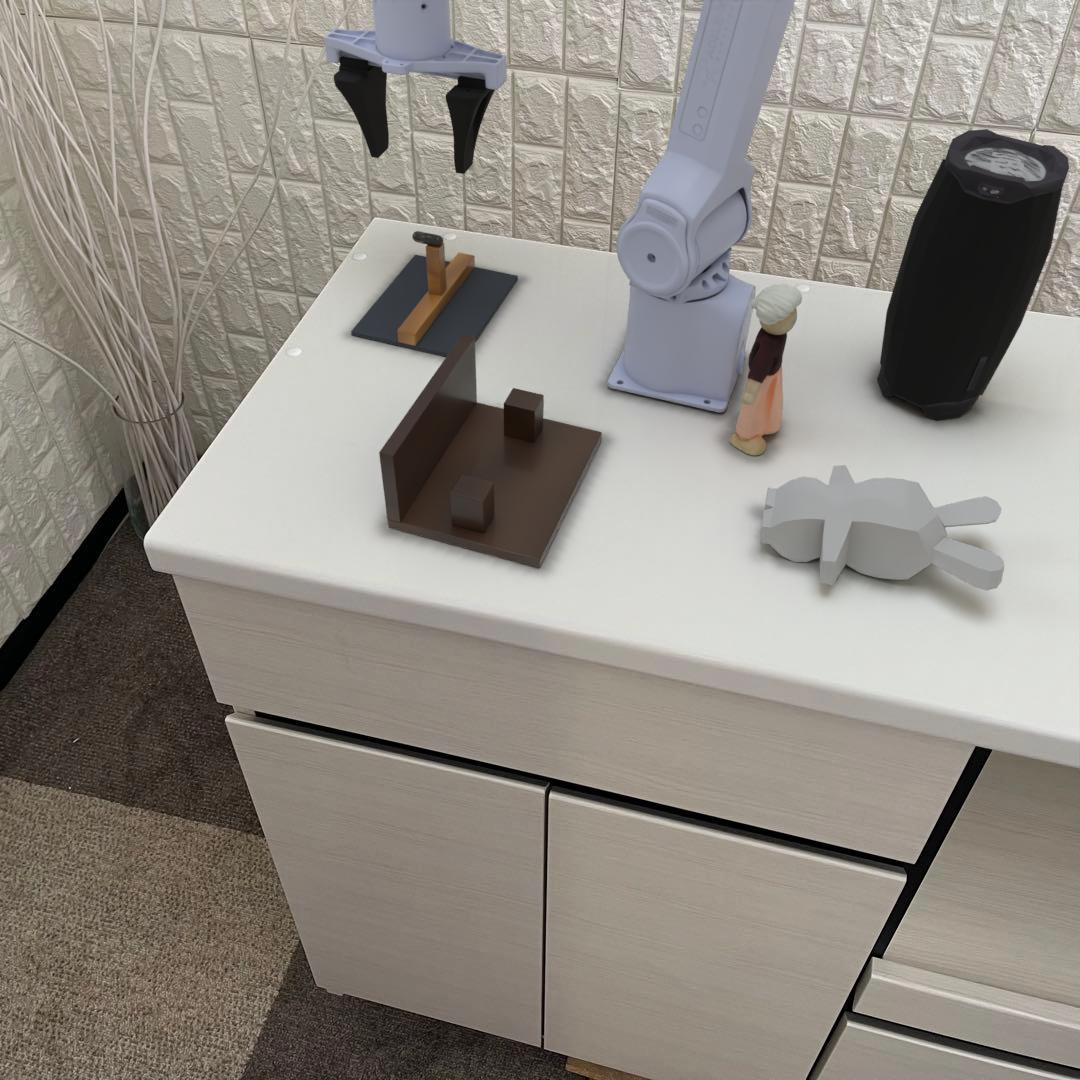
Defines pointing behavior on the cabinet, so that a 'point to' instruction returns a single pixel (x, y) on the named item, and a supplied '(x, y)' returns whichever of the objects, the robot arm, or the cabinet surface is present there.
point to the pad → (457, 318)
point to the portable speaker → (969, 270)
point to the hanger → (435, 286)
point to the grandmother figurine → (766, 368)
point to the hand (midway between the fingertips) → (421, 160)
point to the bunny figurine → (876, 529)
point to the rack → (482, 466)
